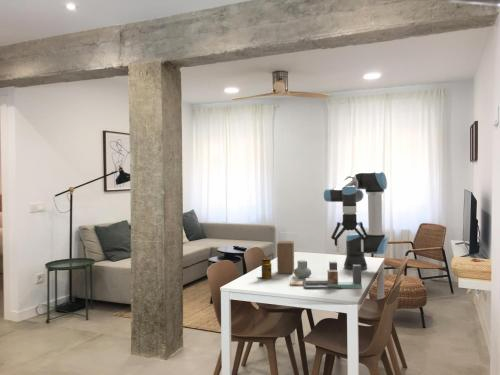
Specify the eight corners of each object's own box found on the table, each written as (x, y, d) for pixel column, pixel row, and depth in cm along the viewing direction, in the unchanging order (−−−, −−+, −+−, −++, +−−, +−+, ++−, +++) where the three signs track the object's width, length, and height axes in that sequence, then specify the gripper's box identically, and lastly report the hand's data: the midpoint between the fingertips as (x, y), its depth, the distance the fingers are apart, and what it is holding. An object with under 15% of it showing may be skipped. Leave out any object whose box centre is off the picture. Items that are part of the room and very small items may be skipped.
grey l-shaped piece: (359, 285, 235) (359, 264, 235) (361, 288, 229) (361, 266, 229) (327, 285, 237) (327, 264, 236) (328, 288, 231) (328, 266, 230)
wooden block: (292, 274, 266) (292, 243, 265) (277, 273, 268) (276, 242, 267) (294, 270, 275) (293, 240, 275) (279, 270, 277) (278, 240, 277)
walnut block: (336, 282, 236) (336, 269, 236) (337, 284, 231) (337, 271, 231) (327, 282, 236) (327, 269, 236) (328, 284, 231) (328, 271, 231)
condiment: (274, 278, 255) (273, 259, 255) (261, 280, 251) (261, 260, 251) (268, 276, 262) (268, 257, 261) (256, 278, 258) (256, 258, 258)
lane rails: (336, 280, 247) (336, 278, 247) (341, 288, 229) (341, 286, 229) (302, 280, 248) (302, 278, 248) (304, 288, 230) (304, 286, 230)
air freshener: (292, 276, 261) (292, 260, 261) (304, 274, 265) (303, 258, 264) (300, 279, 251) (300, 263, 251) (312, 278, 254) (312, 262, 254)
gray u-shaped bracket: (336, 281, 245) (335, 261, 245) (337, 283, 239) (337, 263, 239) (305, 281, 246) (305, 261, 246) (306, 283, 240) (305, 263, 240)
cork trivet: (302, 282, 244) (302, 281, 244) (303, 285, 237) (302, 284, 237) (290, 282, 244) (290, 281, 244) (290, 285, 237) (290, 284, 237)
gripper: (370, 212, 235) (370, 250, 235) (326, 213, 236) (326, 250, 236) (373, 213, 228) (374, 252, 228) (327, 214, 229) (328, 252, 229)
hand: (349, 251), depth 232 cm, fingers open, 13 cm apart
